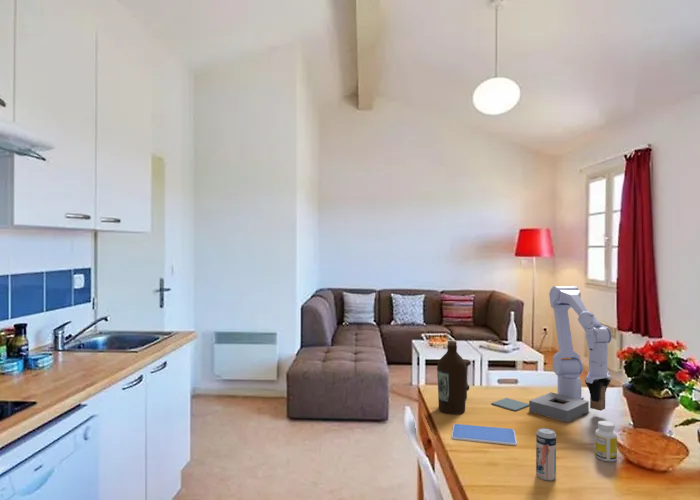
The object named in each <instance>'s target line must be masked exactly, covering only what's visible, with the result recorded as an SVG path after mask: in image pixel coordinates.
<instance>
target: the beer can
mask: <svg viewBox="0 0 700 500" xmlns="http://www.w3.org/2000/svg"><path fill="white" fill-rule="evenodd" d="M535 433H536V434H535V435H536V437H535V438H536V439H535V443H536V444H535V445H536V447H535V454H536V455H535V458H536V459H535V465H536V466H535V474H536V476H537V477H538V478H539V479H541V480H543V481H553V480H556V478H557V434H556V432H555V430H553V429H552V428H548V427H541V428H538V430H537V431H536V432H535Z"/></svg>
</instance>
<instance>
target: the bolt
mask: <svg viewBox="0 0 700 500" xmlns="http://www.w3.org/2000/svg"><path fill="white" fill-rule="evenodd" d="M462 359H463V360H464V361H465V363H466V366H467V367H468V366H470V365H472V364H471V361H470V360H469V359H465V358H462ZM469 390H470V385H469V384H468V378H467V379H466V397H465V400H467V398H468V391H469Z"/></svg>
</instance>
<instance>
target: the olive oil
mask: <svg viewBox="0 0 700 500" xmlns="http://www.w3.org/2000/svg"><path fill="white" fill-rule="evenodd" d="M446 346H447V348H446V349H447V351H446V352H445V353H444V355H442V357H441V358H440V359H439V360H438V363H437V367H436V372H437V373H436V374H437V376H436V377H437V391H438V392H437V394H438V395H437V397H438V400H437V401H438V410H439V411H440V412H441V413H444V414H448V415H461V414H463V413H465V412H466V399H465V397H466V379H467V380H468V366H466V363H465V361H464V360H463V359H464V358H463V357H462V356H461V355H460V354H459V352H458V345H457V341H456V340H448V341H447V345H446Z"/></svg>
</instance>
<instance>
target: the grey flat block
mask: <svg viewBox="0 0 700 500" xmlns="http://www.w3.org/2000/svg"><path fill="white" fill-rule="evenodd" d="M559 403H562V404H559ZM528 404H529V406H528V407H529V408H528V409H529V412H531V413H535V414H537V415H541V416H544V417H548V418H552V419H555V420H559V421H562V422H565V423H569V422H571V421H573V420H575V419H577V418H579V417H582V416H583V415H585V414H587V413H590V411H589V410H590V409H589V408H590V401H588V400H584V399H577V398H573V397H569V396H565V395H560V394H558V393H556V392H551V391H550V392H549V393H545V394H542V395H541V396H539V397H536V398H533V399H530V400H529V401H528Z"/></svg>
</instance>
